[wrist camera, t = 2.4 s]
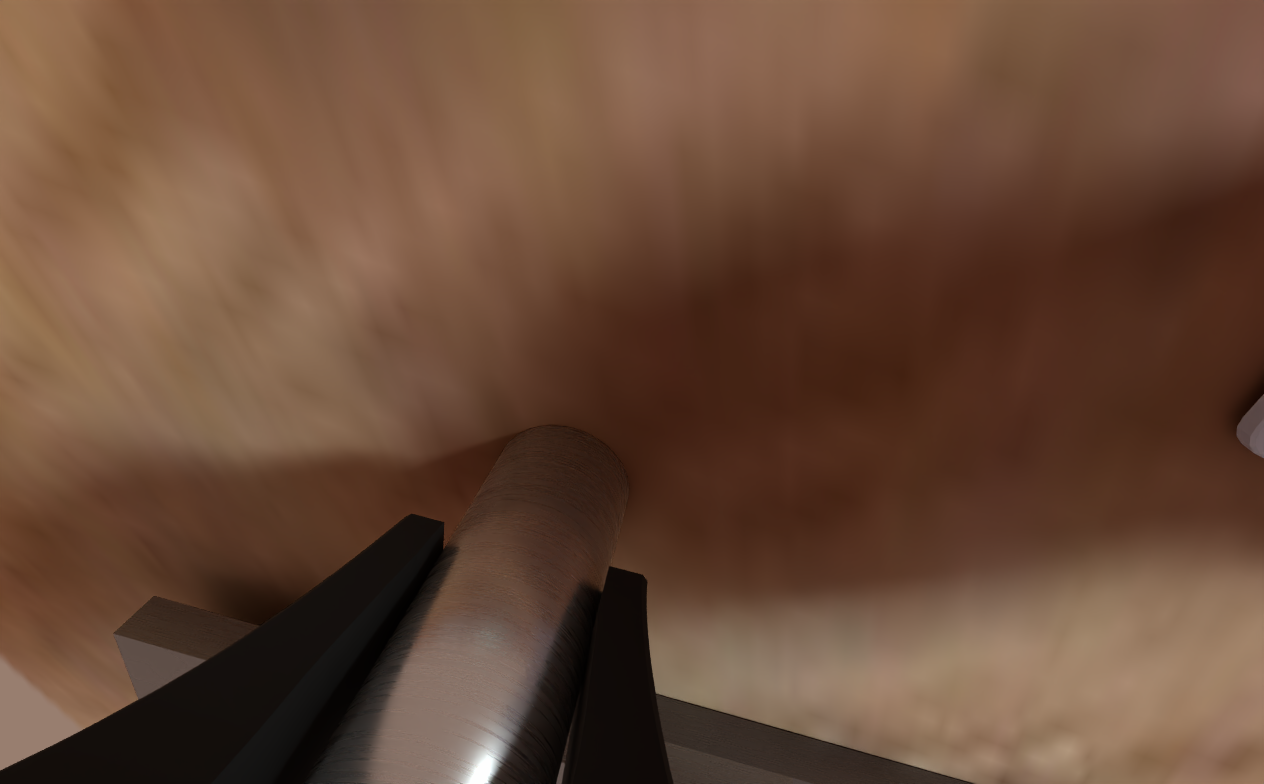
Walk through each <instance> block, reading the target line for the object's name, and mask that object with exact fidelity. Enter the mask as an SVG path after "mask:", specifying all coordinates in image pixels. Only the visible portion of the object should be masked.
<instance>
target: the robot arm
mask: <svg viewBox="0 0 1264 784" xmlns="http://www.w3.org/2000/svg"><path fill="white" fill-rule="evenodd" d="M1236 436H1237V437H1238V439H1239V441H1240V442H1241V444H1243V445H1244V446H1245V447H1247V448H1248V449H1249V450H1251V451H1252V452H1253V453H1254V454H1256V455H1258V456H1260V457H1262V458H1264V394H1263V396H1262V397H1261V398H1260V399H1259V400H1258V401H1257V402H1256V403H1255V404H1254V405H1253V407H1252V408H1251V409H1250V410H1249V411H1248V412H1247V413H1246V414H1245V415H1244V416H1243V418H1242V420H1241V421H1240V423H1239V424H1238V426H1237V435H1236ZM443 541H444V522H441V521H437V520H433V519H430V518H426V517H422V516H418V515H414V514H410V515H408V516H406V517H405V518H404V519H402V520H401V521H400V522H399V523H397V524H396V525H395V526H394V527H393V528H391V529H390V530H389V531H388V532H386V533H385V534H384V535H383V536H381V537H380V538H379V539H378V540H376V541H375V542H374V543H373V544H371V545H370V546H369V547H367V548H366V549H365V550H364V551H362V552H361V553H360V554H359V555H357V556H356V557H355V558H353V559H352V560H351V561H349V562H348V563H347V564H346V565H344V566H343V567H342V568H340V569H339V570H338V571H336V572H335V573H334V574H332V575H331V576H329V577H328V578H327V579H325V580H324V581H323V582H321V583H320V584H319V585H317V586H316V587H315V588H313V589H312V590H310V591H309V592H308V593H306V594H305V595H304V596H302V597H301V598H300V599H298V600H297V601H295V602H294V603H292V604H291V605H290V606H288V607H287V608H285V609H284V610H282V611H281V612H279V613H278V614H276V615H275V616H273V617H272V618H270V619H269V620H267V621H266V622H264V623H263V624H262V625H260V626H259V627H257V628H256V629H254V630H253V631H251V632H250V633H248V634H247V635H245V636H244V637H242V638H241V639H239V640H238V641H236V642H235V643H233V644H231V645H230V646H228V647H227V648H225V649H224V650H222V651H220V652H219V653H217V654H216V655H214V656H212V657H211V658H209V659H208V660H206V661H204V662H203V663H201V664H199V665H198V666H196V667H194V668H193V669H191V670H189V671H188V672H186V673H184V674H183V675H181V676H179V677H177V678H176V679H174V680H172V681H171V682H169V683H167V684H166V685H164V686H162V687H160V688H159V689H157V690H155V691H153V692H152V693H150V694H148V695H146V696H144V697H142V698H141V699H139V700H137V701H135V702H133V703H132V704H130V705H128V706H126V707H124V708H122V709H121V710H119V711H117V712H115V713H113V714H112V715H110V716H108V717H106V718H104V719H102V720H101V721H99V722H97V723H95V724H93V725H91V726H89V727H87V728H85V729H83V730H82V731H80V732H78V733H76V734H74V735H72V736H70V737H68V738H66V739H64V740H62V741H60V742H58V743H56V744H54V745H53V746H50V747H48V748H46V749H44V750H42V751H40V752H38V753H36V754H34V755H32V756H29V757H27V758H25V759H23V760H21V761H19V762H17V763H15V764H13V765H11V766H9V767H7V768H5V769H3V770H0V784H303V783H304V781H305V779H306V778H307V776H308V774H309V773H310V771H311V769H312V768H313V766H314V764H315V763H316V761H317V759H318V758H319V756H320V754H321V753H322V751H323V749H324V748H325V746H326V744H327V743H328V741H329V739H330V738H331V736H332V734H333V733H334V731H335V729H336V728H337V726H338V724H339V723H340V721H341V719H342V718H343V716H344V714H345V713H346V711H347V709H348V708H349V706H350V704H351V703H352V701H353V699H354V698H355V696H356V694H357V693H358V691H359V689H360V688H361V686H362V684H363V683H364V681H365V679H366V678H367V676H368V674H369V673H370V671H371V669H372V668H373V666H374V664H375V663H376V661H377V659H378V658H379V656H380V654H381V653H382V651H383V649H384V648H385V646H386V644H387V643H388V641H389V639H390V638H391V636H392V634H393V633H394V631H395V629H396V628H397V626H398V624H399V623H400V621H401V619H402V618H403V616H404V614H405V613H406V611H407V609H408V608H409V606H410V604H411V603H412V601H413V599H414V598H415V596H416V594H417V593H418V591H419V589H420V588H421V586H422V585H423V583H424V581H425V580H426V578H427V576H428V575H429V573H430V571H431V570H432V568H433V566H434V565H435V563H436V561H437V560H438V558H439V556H440V555H441V553H442V551H443ZM562 784H674V783H673V779H672V774H671V770H670V766H669V761H668V756H667V752H666V747H665V742H664V737H663V733H662V727H661V722H660V717H659V711H658V705H657V699H656V692H655V686H654V680H653V673H652V666H651V658H650V649H649V638H648V627H647V580H646V579H645V577H644V576H643V575H641V574H638V573H634V572H630V571H626V570H622V569H619V568H615V567H611V566H609V568H608V572H607V576H606V580H605V584H604V588H603V592H602V595H601V599H600V603H599V607H598V611H597V615H596V619H595V623H594V627H593V631H592V635H591V639H590V644H589V650H588V655H587V661H586V666H585V670H584V675H583V679H582V683H581V687H580V691H579V695H578V699H577V703H576V707H575V711H574V715H573V719H572V724H571V730H570V736H569V742H568V748H567V754H566V760H565V766H564V772H563V778H562Z"/></svg>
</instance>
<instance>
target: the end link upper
mask: <svg viewBox="0 0 1264 784" xmlns="http://www.w3.org/2000/svg"><path fill="white" fill-rule="evenodd" d="M257 627H259V626H258V625H255V624H251V623H248V622H244V621H241V620H237V619H234V618H230V617H227V616H223V615H220V614H216V613H213V612H209V611H206V610H202V609H199V608H195V607H192V606H188V605H185V604H181V603H178V602H174V601H171V600H167V599H164V598H160V597H157V596H153V597H152V598H151V599H150V600H149V601H148V602H147V603H146V604H145V605H144V606H143V607H142V608H140V609H139V610H138V611H137V612H136V613H135V614H134V615H133V616H132V617H131V618H130V619H129V620H127V621H126V622H125V623H124V624H123V625H122V626H121V627H120V628H119V629H118V630H117V631H115V632H114V633H113V634H114V637H115V640H116V642H117V645H118V647H119V650H120V653H121V655H122V658H123V660H124V663H125V665H126V668H127V671H128V673H129V676H130V678H131V681H132V684H133V686H134V689H135V691H136V694H137V696H138V699H141V698H142V697H144V696H146V695H148V694H150V693H152V692H153V691H155V690H157V689H159V688H160V687H162V686H164V685H166V684H167V683H169V682H171V681H172V680H174V679H176V678H177V677H179V676H181V675H183V674H184V673H186V672H188V671H189V670H191V669H193V668H194V667H196V666H198V665H199V664H201V663H203V662H204V661H206V660H208V659H209V658H211V657H212V656H214V655H216V654H217V653H219V652H220V651H222V650H224V649H225V648H227V647H228V646H230V645H231V644H233V643H235V642H236V641H238V640H239V639H241V638H242V637H244V636H245V635H247V634H248V633H250V632H251V631H253V630H254V629H256V628H257ZM571 724H572V723H571ZM570 730H571V727H570ZM569 736H570V731H569V734H568V738H567V742H566V746H565V750H564V754H563V758H562V762H561V766H560V770H559V774H558V778H557V782H556V784H562V778H563V772H564V766H565V760H566V754H567V748H568V742H569ZM664 742H665V741H664ZM665 747H666V752H667V756H668V761H669V766H670V770H671V774H672V779H673V783H674V784H793V778H791V777H788V776H784V775H781V774H777V773H774V772H770V771H767V770H763V769H760V768H756V767H753V766H749V765H746V764H742V763H739V762H735V761H732V760H728V759H725V758H721V757H718V756H714V755H711V754H707V753H704V752H700V751H697V750H693V749H690V748H686V747H683V746H679V745H676V744H672V743H669V742H665Z"/></svg>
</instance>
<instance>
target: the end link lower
mask: <svg viewBox="0 0 1264 784" xmlns="http://www.w3.org/2000/svg"><path fill="white" fill-rule="evenodd" d="M656 699H657V705H658V711H659V717H660V722H661V727H662V733H663V737H664V741H665V742H669V743H672V744H676V745H679V746H683V747H686V748H690V749H693V750H697V751H700V752H704V753H707V754H711V755H714V756H718V757H721V758H725V759H728V760H732V761H735V762H739V763H742V764H746V765H749V766H753V767H756V768H760V769H763V770H767V771H770V772H774V773H777V774H781V775H784V776H788V777H791V778H793V784H970V783H967V782H963V781H960V780H956V779H953V778H949V777H946V776H942V775H939V774H935V773H932V772H928V771H925V770H921V769H917V768H914V767H910V766H907V765H903V764H900V763H896V762H893V761H889V760H886V759H882V758H879V757H875V756H871V755H868V754H864V753H861V752H857V751H854V750H850V749H847V748H843V747H840V746H836V745H833V744H829V743H826V742H822V741H818V740H815V739H811V738H808V737H804V736H801V735H797V734H794V733H790V732H787V731H783V730H780V729H776V728H773V727H769V726H765V725H762V724H758V723H755V722H751V721H748V720H744V719H741V718H737V717H734V716H730V715H727V714H723V713H720V712H716V711H712V710H709V709H705V708H702V707H698V706H695V705H691V704H688V703H684V702H681V701H677V700H674V699H670V698H667V697H663V696H659V695H656Z"/></svg>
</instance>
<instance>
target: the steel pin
mask: <svg viewBox="0 0 1264 784" xmlns="http://www.w3.org/2000/svg"><path fill="white" fill-rule="evenodd" d="M628 495H629V483H628V478H627V474H626V471H625V469H624V467H623V465H622V463H621V462H620V460H619V459H618V457H617V456H616V455H615V454H614V453H613V451H612V450H610V449H609V448H608V447H607V446H606V445H605V444H604V443H602V442H601V441H600V440H598V439H596V438H595V437H593V436H591V435H589V434H587V433H585V432H583V431H580V430H577V429H574V428H569V427H564V426H540V427H535V428H532V429H529V430H526V431H524V432H522V433H520V434H518V435H517V436H515V437H514V438H513V439H512V440H510V442H509V443H508V444H507V445H506V446H505V448H504V450H503V451H502V453H501V455H500V456H499V458H498V460H497V461H496V463H495V465H494V466H493V468H492V470H491V471H490V473H489V475H488V476H487V478H486V480H485V481H484V483H483V485H482V486H481V488H480V490H479V491H478V493H477V495H476V496H475V498H474V500H473V501H472V503H471V505H470V506H469V508H468V510H467V511H466V513H465V515H464V516H463V518H462V520H461V521H460V523H459V525H458V526H457V528H456V530H455V531H454V533H453V535H452V536H451V538H450V540H449V541H448V543H447V545H446V546H445V548H444V550H443V551H442V553H441V555H440V556H439V558H438V560H437V561H436V563H435V565H434V566H433V568H432V570H431V571H430V573H429V575H428V576H427V578H426V580H425V581H424V583H423V585H422V586H421V588H420V589H419V591H418V593H417V594H416V596H415V598H414V599H413V601H412V603H411V604H410V606H409V608H408V609H407V611H406V613H405V614H404V616H403V618H402V619H401V621H400V623H399V624H398V626H397V628H396V629H395V631H394V633H393V634H392V636H391V638H390V639H389V641H388V643H387V644H386V646H385V648H384V649H383V651H382V653H381V654H380V656H379V658H378V659H377V661H376V663H375V664H374V666H373V668H372V669H371V671H370V673H369V674H368V676H367V678H366V679H365V681H364V683H363V684H362V686H361V688H360V689H359V691H358V693H357V694H356V696H355V698H354V699H353V701H352V703H351V704H350V706H349V708H348V709H347V711H346V713H345V714H344V716H343V718H342V719H341V721H340V723H339V724H338V726H337V728H336V729H335V731H334V733H333V734H332V736H331V738H330V739H329V741H328V743H327V744H326V746H325V748H324V749H323V751H322V753H321V754H320V756H319V758H318V759H317V761H316V763H315V764H314V766H313V768H312V769H311V771H310V773H309V774H308V776H307V778H306V779H305V781H304V783H303V784H556V782H557V778H558V774H559V770H560V766H561V762H562V758H563V754H564V750H565V746H566V742H567V738H568V734H569V731H570V727H571V723H572V719H573V715H574V711H575V707H576V703H577V699H578V695H579V691H580V687H581V683H582V679H583V675H584V670H585V666H586V661H587V655H588V650H589V644H590V639H591V635H592V631H593V627H594V623H595V619H596V615H597V611H598V607H599V603H600V599H601V595H602V592H603V588H604V584H605V580H606V576H607V572H608V568H609V566H611V564H612V560H613V556H614V552H615V548H616V544H617V540H618V536H619V532H620V528H621V524H622V520H623V516H624V512H625V508H626V504H627V500H628Z"/></svg>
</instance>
